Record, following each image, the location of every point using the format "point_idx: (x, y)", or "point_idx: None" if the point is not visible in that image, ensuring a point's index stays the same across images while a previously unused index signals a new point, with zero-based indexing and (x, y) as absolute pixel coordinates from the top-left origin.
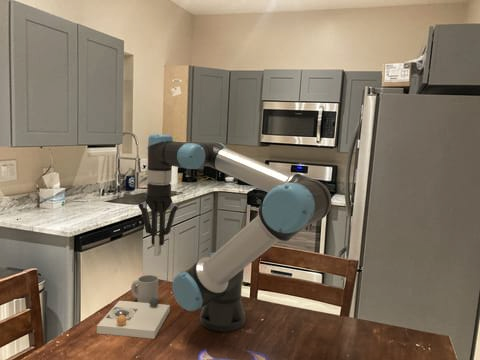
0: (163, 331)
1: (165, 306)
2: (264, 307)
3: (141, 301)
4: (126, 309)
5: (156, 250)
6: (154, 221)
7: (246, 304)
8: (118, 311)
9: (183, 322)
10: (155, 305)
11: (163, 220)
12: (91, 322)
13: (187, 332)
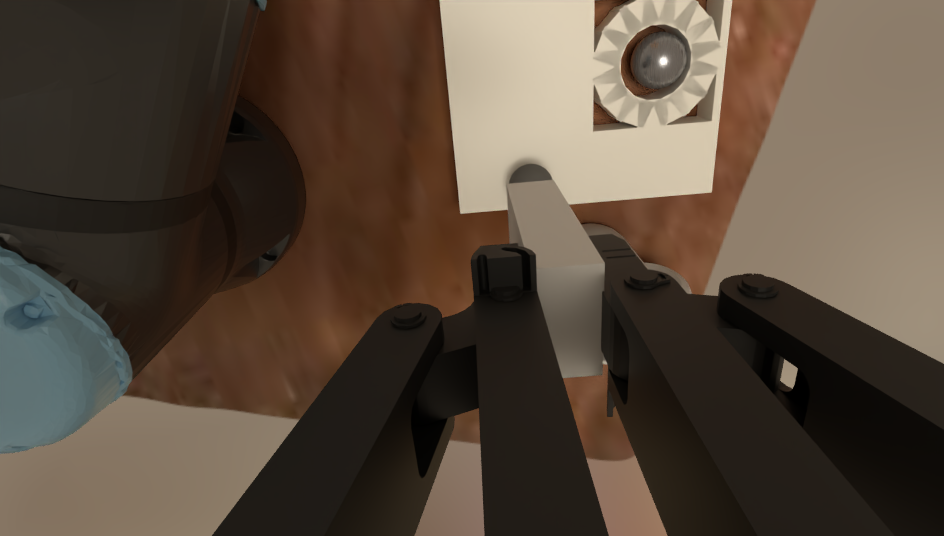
0: (418, 13)
1: (474, 194)
2: None
3: (607, 230)
4: (647, 111)
5: (537, 196)
6: (722, 439)
7: (171, 352)
8: (677, 54)
9: (363, 124)
10: (516, 169)
11: (485, 511)
12: (782, 3)
13: (308, 35)
